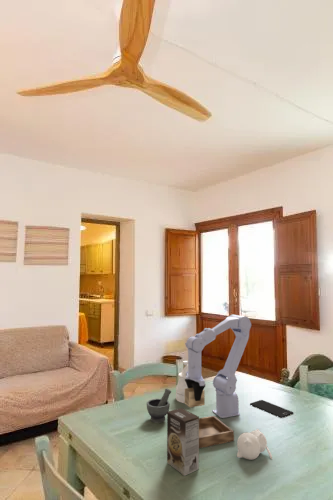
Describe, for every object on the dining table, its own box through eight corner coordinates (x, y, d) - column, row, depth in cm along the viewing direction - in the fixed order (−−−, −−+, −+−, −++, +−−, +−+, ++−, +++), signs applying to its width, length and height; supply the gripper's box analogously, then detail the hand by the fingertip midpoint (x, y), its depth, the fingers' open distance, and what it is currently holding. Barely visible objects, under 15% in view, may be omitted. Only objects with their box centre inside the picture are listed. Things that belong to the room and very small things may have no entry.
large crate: (214, 424, 133) (214, 415, 133) (234, 441, 119) (233, 431, 120) (181, 430, 127) (181, 421, 128) (198, 448, 114) (198, 438, 114)
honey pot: (171, 400, 159) (171, 362, 161) (183, 392, 170) (183, 357, 172) (194, 405, 152) (194, 366, 154) (206, 397, 163) (205, 360, 165)
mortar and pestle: (152, 426, 131) (153, 396, 132) (142, 418, 139) (143, 389, 140) (176, 420, 136) (176, 391, 137) (165, 412, 144) (165, 385, 145)
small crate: (199, 400, 141) (199, 386, 142) (204, 405, 136) (204, 390, 137) (184, 403, 139) (184, 388, 139) (189, 407, 134) (189, 392, 134)
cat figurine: (259, 420, 115) (239, 429, 107) (282, 447, 108) (263, 459, 100) (247, 437, 118) (227, 447, 110) (270, 464, 111) (250, 477, 103)
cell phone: (281, 419, 139) (281, 417, 139) (249, 405, 154) (249, 403, 154) (294, 414, 144) (294, 412, 144) (261, 401, 159) (261, 399, 159)
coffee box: (166, 463, 105) (166, 411, 106) (181, 456, 109) (181, 406, 110) (184, 476, 98) (184, 421, 99) (199, 469, 102) (199, 415, 103)
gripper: (179, 362, 144) (179, 393, 143) (193, 370, 131) (193, 405, 130) (193, 360, 147) (193, 391, 146) (209, 369, 133) (209, 403, 132)
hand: (194, 398), depth 138 cm, fingers closed on small crate, 5 cm apart
